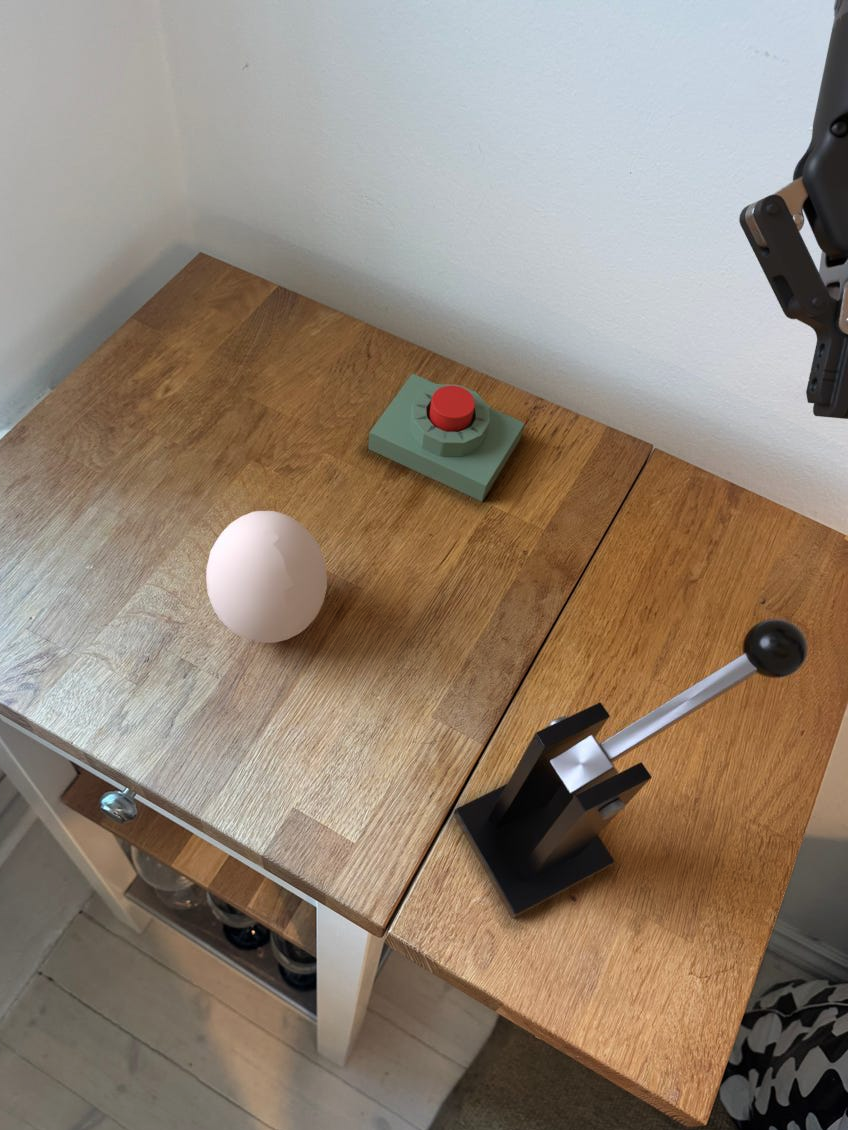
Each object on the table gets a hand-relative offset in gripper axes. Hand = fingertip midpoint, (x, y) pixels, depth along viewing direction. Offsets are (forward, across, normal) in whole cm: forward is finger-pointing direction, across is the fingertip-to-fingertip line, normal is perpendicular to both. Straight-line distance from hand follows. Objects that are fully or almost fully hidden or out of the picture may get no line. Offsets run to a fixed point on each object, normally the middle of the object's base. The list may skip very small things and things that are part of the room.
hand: (836, 417), depth 46 cm
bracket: (+30, -9, +11) cm, 33 cm away
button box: (+5, -16, +36) cm, 39 cm away
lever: (+17, -4, +2) cm, 17 cm away
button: (+3, -16, +33) cm, 37 cm away
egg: (+19, -29, +22) cm, 41 cm away
